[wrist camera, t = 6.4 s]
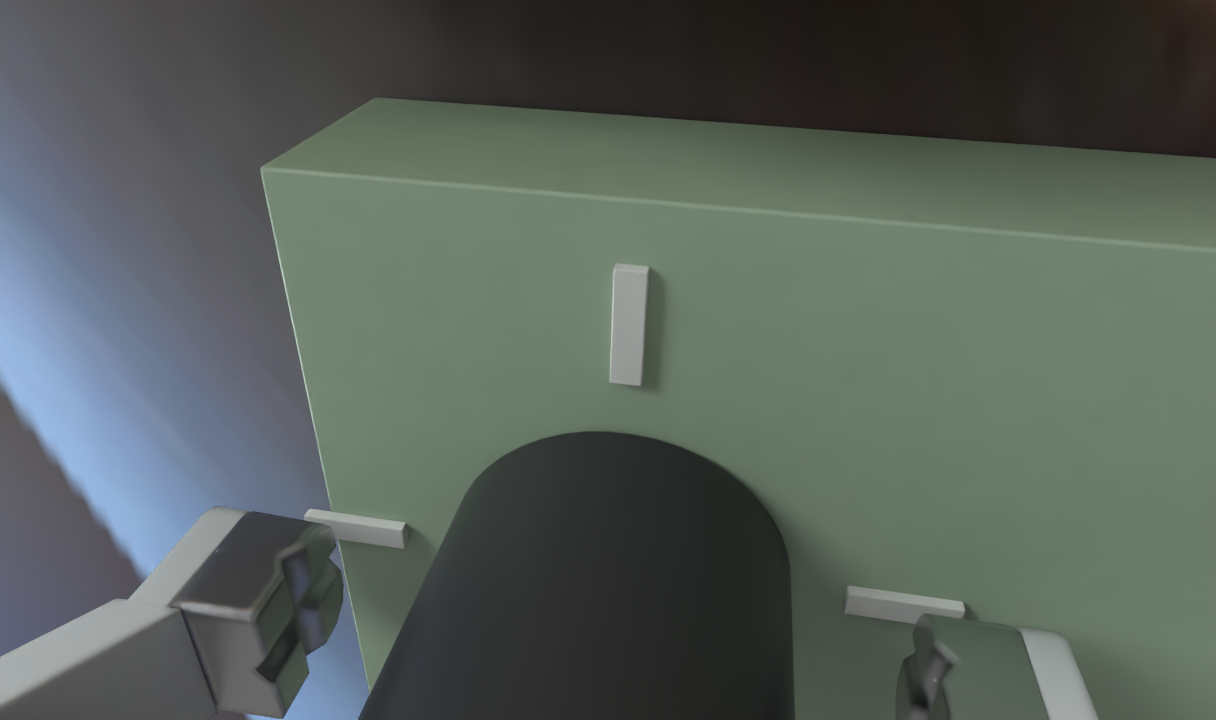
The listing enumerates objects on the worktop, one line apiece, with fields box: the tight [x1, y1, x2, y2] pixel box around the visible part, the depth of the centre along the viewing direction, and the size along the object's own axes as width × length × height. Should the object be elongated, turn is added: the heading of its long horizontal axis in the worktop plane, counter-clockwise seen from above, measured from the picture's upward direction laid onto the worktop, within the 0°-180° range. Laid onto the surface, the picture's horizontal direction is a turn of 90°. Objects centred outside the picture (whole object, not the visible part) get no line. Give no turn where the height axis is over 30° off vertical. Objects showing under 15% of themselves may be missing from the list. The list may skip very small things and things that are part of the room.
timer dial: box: [358, 431, 795, 720], centre depth 9 cm, size 4×4×4 cm
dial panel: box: [261, 97, 1216, 720], centre depth 12 cm, size 12×10×3 cm
